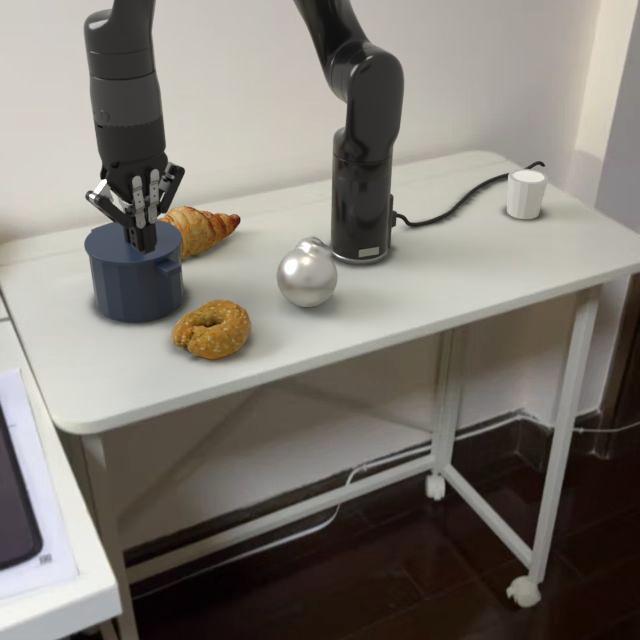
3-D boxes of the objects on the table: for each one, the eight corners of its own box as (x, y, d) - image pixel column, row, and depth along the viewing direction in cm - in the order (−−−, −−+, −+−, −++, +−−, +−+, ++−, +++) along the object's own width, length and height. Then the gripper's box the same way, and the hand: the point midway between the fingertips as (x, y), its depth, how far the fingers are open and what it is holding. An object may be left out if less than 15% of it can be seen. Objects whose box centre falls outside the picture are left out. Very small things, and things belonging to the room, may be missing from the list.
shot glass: (547, 210, 156) (554, 173, 152) (534, 224, 151) (540, 187, 147) (511, 201, 159) (517, 165, 155) (497, 214, 154) (502, 177, 150)
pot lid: (143, 216, 131) (140, 185, 129) (202, 246, 124) (200, 213, 121) (66, 246, 123) (60, 213, 120) (123, 280, 115) (119, 245, 113)
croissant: (130, 288, 137) (134, 259, 131) (105, 239, 141) (108, 208, 135) (248, 252, 147) (257, 224, 140) (222, 208, 151) (229, 178, 144)
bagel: (178, 320, 123) (175, 292, 121) (255, 323, 123) (254, 294, 121) (165, 361, 115) (162, 331, 112) (248, 363, 115) (247, 333, 112)
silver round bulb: (352, 304, 128) (354, 243, 123) (301, 325, 123) (301, 263, 117) (314, 279, 134) (314, 221, 128) (264, 299, 129) (262, 238, 123)
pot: (138, 264, 137) (132, 209, 132) (213, 306, 127) (209, 248, 122) (69, 293, 129) (59, 236, 124) (142, 340, 119) (135, 280, 114)
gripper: (154, 89, 101) (168, 223, 111) (56, 118, 93) (80, 260, 102) (196, 104, 97) (207, 242, 106) (97, 135, 89) (118, 282, 98)
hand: (145, 250), depth 104 cm, fingers closed
